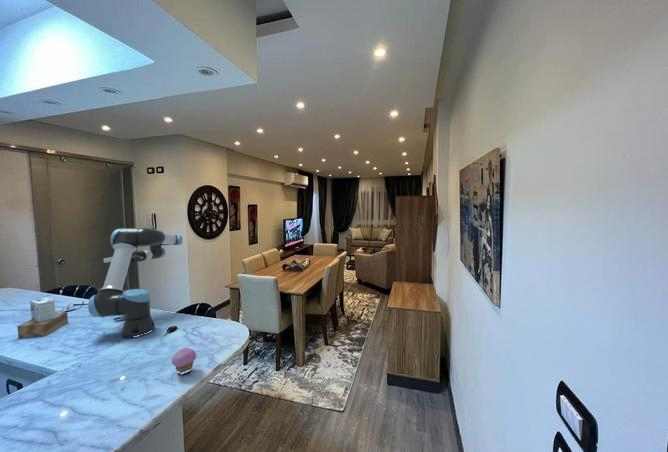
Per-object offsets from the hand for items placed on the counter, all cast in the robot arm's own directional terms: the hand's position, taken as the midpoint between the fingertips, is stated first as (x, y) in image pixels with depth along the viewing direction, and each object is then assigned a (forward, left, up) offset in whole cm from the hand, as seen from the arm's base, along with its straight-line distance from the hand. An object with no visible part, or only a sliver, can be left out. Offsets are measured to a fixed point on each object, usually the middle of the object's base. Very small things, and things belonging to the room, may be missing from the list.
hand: (110, 261), depth 174 cm
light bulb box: (+6, +31, -27) cm, 42 cm away
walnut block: (+6, +31, -34) cm, 47 cm away
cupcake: (-102, +34, -34) cm, 112 cm away
